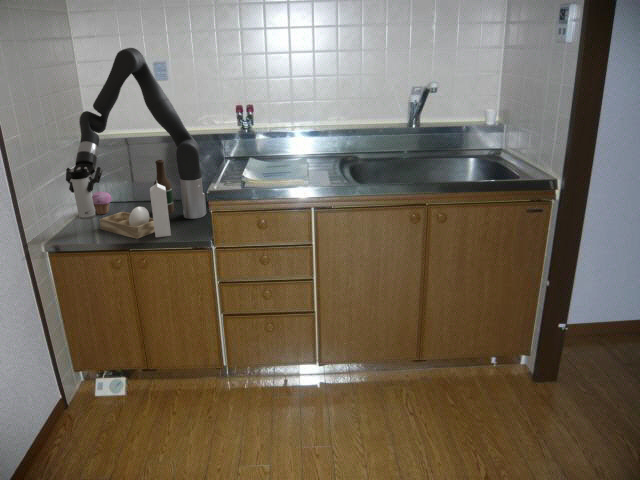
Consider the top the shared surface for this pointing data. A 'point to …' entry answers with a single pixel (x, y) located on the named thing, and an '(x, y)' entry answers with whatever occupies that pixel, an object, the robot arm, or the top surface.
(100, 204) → the cupcake
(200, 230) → the top surface
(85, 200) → the travel mug
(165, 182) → the beer bottle
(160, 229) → the milk
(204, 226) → the top surface
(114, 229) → the wooden compartment box
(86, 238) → the top surface
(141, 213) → the saucer
